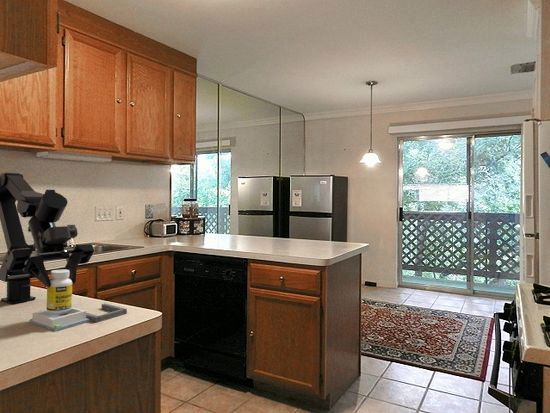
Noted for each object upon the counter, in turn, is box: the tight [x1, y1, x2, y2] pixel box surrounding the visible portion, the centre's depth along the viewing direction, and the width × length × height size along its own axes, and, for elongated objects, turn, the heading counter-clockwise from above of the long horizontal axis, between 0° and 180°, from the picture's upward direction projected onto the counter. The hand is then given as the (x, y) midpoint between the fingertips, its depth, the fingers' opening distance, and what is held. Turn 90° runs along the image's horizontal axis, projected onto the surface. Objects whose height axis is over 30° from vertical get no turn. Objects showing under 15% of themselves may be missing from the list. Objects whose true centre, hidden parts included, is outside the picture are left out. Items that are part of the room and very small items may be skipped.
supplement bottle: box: [46, 268, 73, 313], centre depth 95 cm, size 5×5×10 cm
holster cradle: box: [86, 303, 128, 323], centre depth 102 cm, size 9×9×1 cm
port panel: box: [28, 306, 90, 332], centre depth 95 cm, size 11×8×2 cm
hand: (62, 284), depth 95 cm, fingers closed on supplement bottle, 5 cm apart
